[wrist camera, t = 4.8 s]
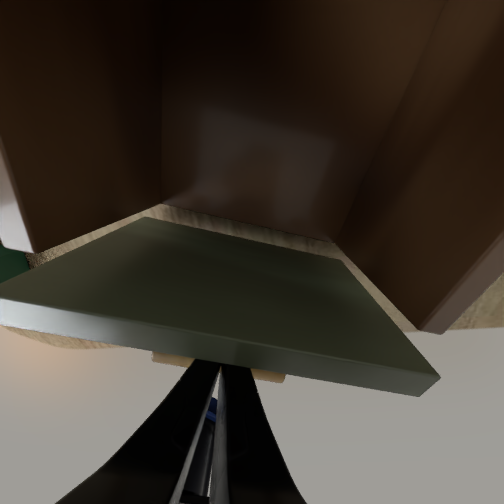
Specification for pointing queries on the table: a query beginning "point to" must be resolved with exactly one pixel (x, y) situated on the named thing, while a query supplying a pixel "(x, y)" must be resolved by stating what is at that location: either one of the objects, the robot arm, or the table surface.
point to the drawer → (254, 176)
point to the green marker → (11, 263)
